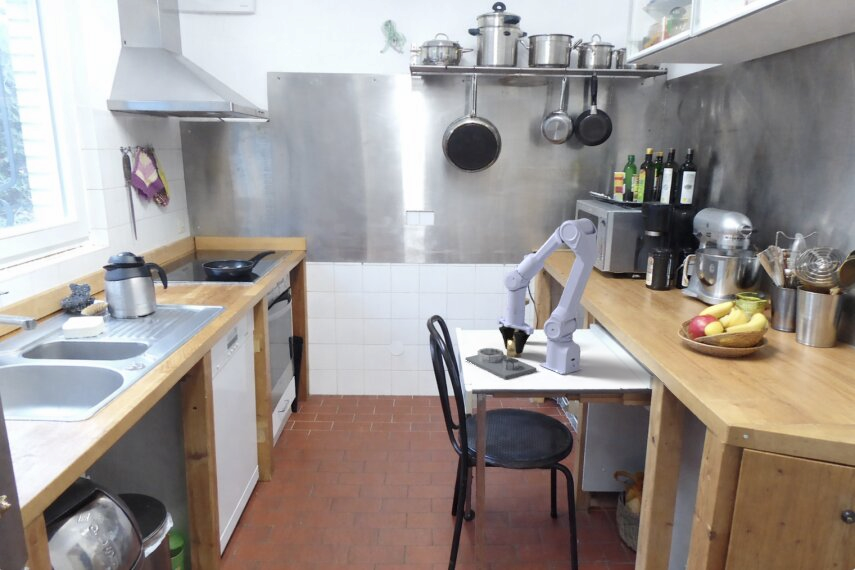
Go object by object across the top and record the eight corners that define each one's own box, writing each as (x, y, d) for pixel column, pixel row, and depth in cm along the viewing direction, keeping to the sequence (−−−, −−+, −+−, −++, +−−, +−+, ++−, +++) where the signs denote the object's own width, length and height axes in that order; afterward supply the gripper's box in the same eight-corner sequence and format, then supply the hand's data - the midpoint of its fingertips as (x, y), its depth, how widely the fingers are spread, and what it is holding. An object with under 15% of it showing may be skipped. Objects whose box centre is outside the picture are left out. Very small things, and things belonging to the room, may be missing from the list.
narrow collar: (521, 368, 164) (521, 361, 164) (509, 371, 162) (509, 364, 161) (510, 363, 168) (511, 356, 167) (499, 366, 165) (499, 359, 165)
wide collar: (508, 359, 171) (508, 353, 170) (488, 364, 167) (488, 357, 166) (491, 352, 177) (492, 346, 177) (472, 357, 173) (472, 350, 173)
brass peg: (523, 355, 177) (524, 340, 176) (513, 358, 175) (513, 343, 174) (514, 352, 181) (514, 337, 180) (503, 354, 179) (504, 339, 178)
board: (536, 371, 164) (536, 367, 164) (504, 379, 158) (504, 376, 158) (495, 353, 179) (495, 350, 179) (465, 360, 173) (465, 357, 172)
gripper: (490, 305, 179) (489, 346, 181) (522, 315, 167) (520, 359, 170) (507, 302, 182) (505, 343, 185) (539, 312, 171) (537, 355, 173)
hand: (513, 350), depth 178 cm, fingers closed on brass peg, 4 cm apart
